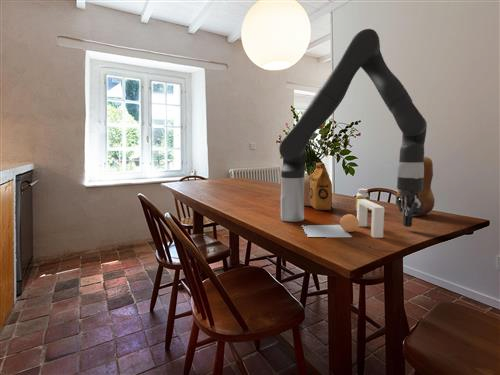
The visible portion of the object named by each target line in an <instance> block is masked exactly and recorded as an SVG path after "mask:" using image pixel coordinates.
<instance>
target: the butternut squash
mask: <svg viewBox="0 0 500 375" xmlns="http://www.w3.org/2000/svg"><path fill="white" fill-rule="evenodd" d="M433 167H434V164H433V161H432V159H431V158H430V157H429V156H425V155H424V178H423V190H421V191H419V192H418V194H419V199H418V200H419V202H423V206H422V208H421V210H420V211H419V213H418V214H417V215H414V216H413V217H416V216H417V217H421V216H424V215H427V214H429V213H430V212H432V211H433V209H434V207H435V195H434V194H433V190H432V181H433V177H434V168H433ZM400 192H401V190H398V189H397V193H396V197H399V196H400ZM395 204H396V205H397V207H398V208H399V206H398V203H397V200H396V199H395ZM414 212H415V211H414Z"/></svg>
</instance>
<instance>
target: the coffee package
mask: <svg viewBox="0 0 500 375" xmlns="http://www.w3.org/2000/svg"><path fill="white" fill-rule="evenodd" d="M315 163H316V162H315ZM316 166H317V167H316V169H315V170H314V169H313V170H314V172H313V171H312V172H313V173H312V172H311V173H312V174H311V173H310V175H311V178H310V189H309V188H308V193H309V197H308V199H309V198H310V204H311V205H310V206H311V207H312V208H313V209H315V211H331V210H332V195H333V193H332V185H331V178H330V175H329V172H328V169H327V167H326V165H325V163H324V162H318V163H316Z"/></svg>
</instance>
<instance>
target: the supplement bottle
mask: <svg viewBox="0 0 500 375" xmlns="http://www.w3.org/2000/svg"><path fill="white" fill-rule="evenodd" d="M357 199H366V200H369V201H370V195H369V193H368V189H367V188H358V189H357V193H356V197H355V210H356V211H357ZM368 211H369V209H368V210H367V212H368Z"/></svg>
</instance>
